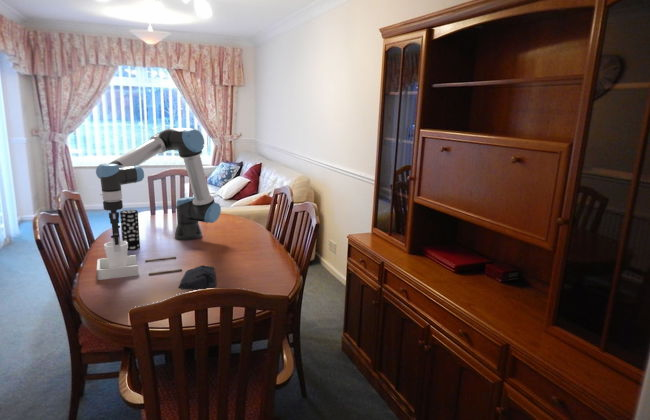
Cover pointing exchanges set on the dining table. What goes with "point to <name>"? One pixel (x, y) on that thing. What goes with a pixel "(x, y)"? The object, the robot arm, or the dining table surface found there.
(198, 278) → the dark slate chunk
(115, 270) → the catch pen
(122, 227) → the white-spotted black cylinder
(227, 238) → the dining table surface
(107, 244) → the foam cup
